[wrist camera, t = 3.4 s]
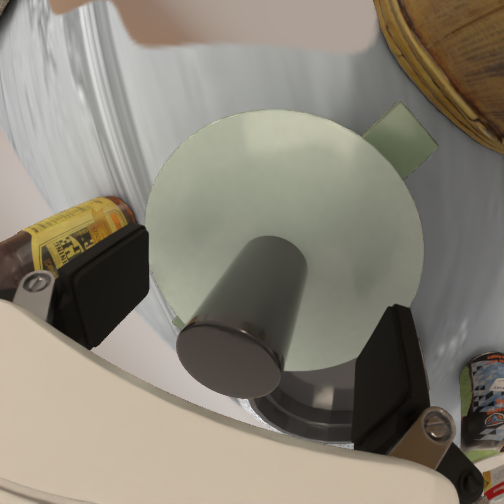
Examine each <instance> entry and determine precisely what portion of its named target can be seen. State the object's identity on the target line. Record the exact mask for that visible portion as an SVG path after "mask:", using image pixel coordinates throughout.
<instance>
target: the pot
mask: <svg viewBox="0 0 504 504" xmlns="http://www.w3.org/2000/svg"><path fill="white" fill-rule="evenodd" d="M361 137H362V138H363V139H365V140H366V141H367V142H369V143H370V144H372V145H373V146H374V147H375V148H376V149H377V150H378V151H379V152H380V153H381V154H382V155H383V156H384V157H385V158H386V159H387V160H388V161H389V162H390V163H391V164H392V166H393V167H394V168H395V170H396V171H397V172H398V174H399V175H400V176H401V178H402V179H403V180H405V179H406V178H407V177H408V176H409V175H410V174H411V173H412V172H413V171H414V170H415V169H416V168H418V167H419V166H420V165H421V164H422V163H423V162H424V161H425V160H426V159H427V158H428V157H429V156H430V155H431V154H432V153H433V152H435V151H436V150H437V149H438V145H437V143H436V142H435V141H434V139H433V138H432V137H431V136H430V134H429V133H428V132H427V131H426V129H425V128H424V127H423V126H422V125H421V123H420V122H419V121H418V120H417V119H416V117H415V116H414V115H413V114H412V113H411V112H410V111H409V109H408V108H407V107H406V106H405V105H404V104H403V103H402V102H401V101H400V102H397V103H395V104H394V105H393V106H392V107H390V108H389V109H388V110H387V111H386V112H385V113H384V114H383V115H382V116H381V117H380V118H379V119H378V120H377V121H376V122H375V123H374V124H373V125H372V126H371V127H369V128H368V129H367V130H366V131H365V132H364V133H363V134H362V135H361ZM172 323H173V324H174V325H175V326H176V327H177V328H179V329H180V330H182V328H183V327H184V326H185V324H184V323H183V322H182V321H181V319H180V318H179V317H178V316H176V317H175V319H174V320H173V321H172Z"/></svg>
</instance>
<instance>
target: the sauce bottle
mask: <svg viewBox="0 0 504 504" xmlns="http://www.w3.org/2000/svg"><path fill="white" fill-rule="evenodd" d="M131 222H134V223H136V221H135V218H134V214H133V212H132V210H131V209H130V207H129V206H127V205H126V204H125V203H124V202H123V201H122V200H121V199H119V198H117V197H115V196H105V197H97V198H94V199H92V200H89V201H87V202H84V203H82V204H79V205H77V206H74V207H72V208H69V209H67V210H64V211H62V212H60V213H57V214H55V215H53V216H51V217H49V218H46V219H45V220H42V221H40V222H38V223H36V224H34V225H31V226H29V227H27V228H25V229H23V230H21V231H19V232H18V233H17V234H16V235H14V236H12V237H10V238H8V239H6V240H5V241H2V242H0V290H1V289H11V288H18V286H19V283H20V281H21V280H22V278H23V277H24V276H25V275H27V274H29V273H30V272H33V271H37V270H47V271H49V272H51V273H52V274H53V275H54V277H55V279H56V278H57V277H59V276H58V271H57V269H58V268H60V267H61V266H63V265H64V264H66V263H67V262H69V261H70V260H72V259H73V258H75V257H76V256H78V255H79V254H81V253H82V252H84V251H85V250H87V249H88V248H90V247H91V246H93V245H94V244H96V243H98V242H99V241H101V240H102V239H104V238H106V237H107V236H109V235H110V234H112V233H114V232H115V231H117V230H119V229H120V228H122V227H124V226H125V225H127V224H129V223H131Z"/></svg>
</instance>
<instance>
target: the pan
mask: <svg viewBox="0 0 504 504" xmlns="http://www.w3.org/2000/svg"><path fill="white" fill-rule="evenodd" d="M418 342H419V346H420V350H421V355H422V360H423V364H424V369H425V375H426V380H427V386H428V392H429V388H430V387H429V382H428V376H427V371H426V366H425V361H424V356H423V352H422V347H421V343H420V339H419V338H418ZM357 358H358V357H357ZM357 358H355V359H353V360H351V361H348V362H345V363H342V364H340V365H337V366H333V367H329V368H324V369H319V370H311V371H284V372H283V375H282V378H281V381H280V383H279V385H278V386H277V387H276V388H275V389H274V390H273V391H272V392H271V393H269V394H267V395H265V396H262V397H258V398H252V399H248V400H249V403H250V405H251V408H252V409H253V410H254V411H255V412H256V413H257V414H258V415H259V416H260V417H261V419H262V420H263V421H265V422H266V423H268V424H269V425H271V426H272V427H274V428H276V429H277V430H279V431H281V432H282V433H285V434H288V435H291V436H293V437H296V438H300V439H304V440H308V441H312V442H318V443H324V444H350V443H351V429H352V417H353V402H354V383H355V364H356V360H357Z"/></svg>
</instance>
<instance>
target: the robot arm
mask: <svg viewBox="0 0 504 504" xmlns="http://www.w3.org/2000/svg"><path fill="white" fill-rule="evenodd" d="M57 271H58V276H59V277H57V278H56V279H55V277H54V275H53V274H52V273H51V272H49V271H47V270H37V271H33V272H30V273H29V274H27V275H25V276H24V277H23V278H22V280H21V281H20V283H19V286H18V288H11V289H1V290H0V504H490V503H489V501H488V499H487V497H486V495H484V496H483V497H482V496H481V494H482V492H483V489H484V479H483V476H482V473H481V472H480V471H479V469H478V468H477V467H476V466H475V465H474V464H473V463H472V462H471V461H470V460H469V459H468V458H467V456H466V455H465V454H464V453H463V452H462V451H461V450H460V449H459V448H458V447H457V446H456V445H455V444H454V443H453V440H454V437H455V434H456V426H455V422H454V420H453V418H452V416H451V415H450V414H449V413H448V412H447V411H446V410H444V409H443V408H440V407H437V406H431V407H430V400H429V399H430V398H429V392H428V386H427V380H426V375H425V369H424V364H423V360H422V355H421V350H420V346H419V342H418V337H417V333H416V329H415V325H414V322H413V318H412V314H411V311H410V308H409V307H406V306H402V305H399V304H396V303H395V304H394V305H393V306H392V307H391V306H388V307H387V308H386V310H385V312H384V314H383V315H382V317H381V319H380V321H379V323H378V324H377V326H376V328H375V330H374V331H373V333H372V335H371V336H370V338H369V340H368V341H367V343H366V345H365V346H364V348H363V350H362V351H361V353H360V354H359V356H358V358H357V360H356V364H355V383H354V402H353V417H352V429H351V443H354V450H351V449H346V448H341V447H336V446H331V445H326V444H321V443H317V442H312V441H308V440H304V439H300V438H296V437H292V436H288V435H284V434H280V433H277V432H273V431H270V430H266V429H263V428H259V427H256V426H253V425H250V424H247V423H244V422H241V421H238V420H235V419H232V418H230V417H227V416H224V415H221V414H218V413H216V412H213V411H210V410H208V409H205V408H203V407H201V406H198V405H196V404H193V403H191V402H189V401H186V400H184V399H182V398H179V397H177V396H175V395H173V394H170V393H168V392H166V391H164V390H161V389H160V388H157V387H155V386H153V385H151V384H149V383H147V382H145V381H143V380H141V379H139V378H137V377H135V376H133V375H131V374H130V373H128V372H126V371H124V370H122V369H120V368H119V367H117V366H115V365H113V364H111V363H110V362H108V361H106V360H105V359H102V358H101V357H99V356H98V355H96V354H94V353H93V352H91V351H90V350H91V349H92V348H93V347H97V346H98V345H99V344H100V343H101V342H102V341H103V340H104V339H105V338H106V337H107V336H108V335H109V334H110V333H111V332H112V331H113V330H114V328H115V327H116V326H117V325H118V324H119V323H120V322H121V321H122V320H123V319H124V318H125V317H126V316H127V315H128V314H129V313H130V312H131V311H132V310H133V309H134V308H135V307H136V306H137V305H138V304H139V303H140V302H141V301H142V300H143V299H144V298H145V297H146V296H147V294H148V292H149V232H148V231H147V230H146V227H145V226H143V225H140V224H137V223H134V222H131V223H129V224H127V225H125V226H124V227H122V228H120V229H119V230H117V231H115V232H114V233H112V234H110V235H109V236H107V237H106V238H104V239H102V240H101V241H99V242H98V243H96V244H94V245H93V246H91V247H90V248H88V249H87V250H85V251H84V252H82V253H81V254H79V255H78V256H76V257H75V258H73V259H72V260H70V261H69V262H67V263H66V264H64V265H63V266H61V267H60V268H58V269H57Z"/></svg>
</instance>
